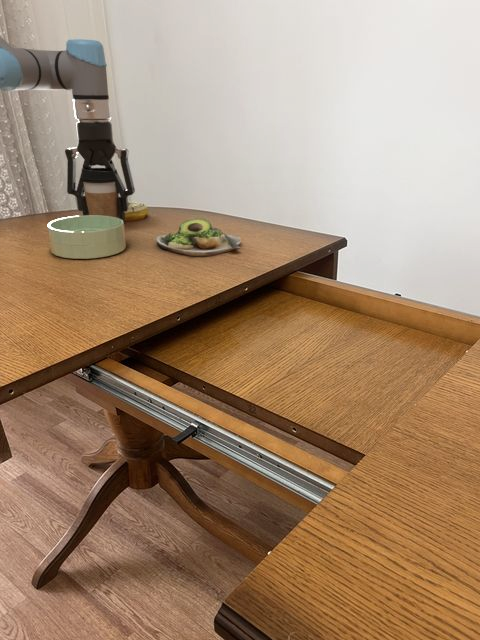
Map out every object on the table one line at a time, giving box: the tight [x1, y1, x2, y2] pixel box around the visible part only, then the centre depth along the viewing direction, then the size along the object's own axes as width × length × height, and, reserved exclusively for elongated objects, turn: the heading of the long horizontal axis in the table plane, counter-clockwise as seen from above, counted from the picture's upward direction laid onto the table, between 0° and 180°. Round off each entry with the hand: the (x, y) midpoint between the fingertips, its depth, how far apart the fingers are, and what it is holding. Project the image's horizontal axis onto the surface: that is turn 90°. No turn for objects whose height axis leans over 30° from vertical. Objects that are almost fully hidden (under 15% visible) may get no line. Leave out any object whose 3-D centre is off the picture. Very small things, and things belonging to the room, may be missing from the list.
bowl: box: [47, 214, 127, 260], centre depth 115 cm, size 15×15×6 cm
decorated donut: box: [124, 201, 149, 222], centre depth 144 cm, size 10×11×4 cm
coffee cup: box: [81, 167, 120, 218], centre depth 127 cm, size 8×8×15 cm
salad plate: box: [155, 218, 241, 257], centre depth 120 cm, size 19×18×5 cm
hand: (105, 224), depth 129 cm, fingers closed on coffee cup, 8 cm apart
